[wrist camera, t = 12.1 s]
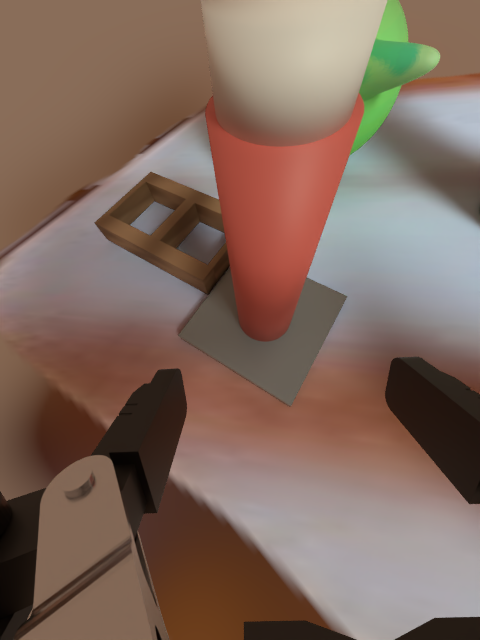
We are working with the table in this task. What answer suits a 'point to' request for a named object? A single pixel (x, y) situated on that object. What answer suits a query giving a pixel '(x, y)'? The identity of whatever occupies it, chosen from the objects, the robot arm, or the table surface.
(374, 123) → the toy bird
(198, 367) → the table surface
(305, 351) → the slate tile
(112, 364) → the table surface
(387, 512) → the table surface
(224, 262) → the caddy
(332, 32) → the pepper mill
